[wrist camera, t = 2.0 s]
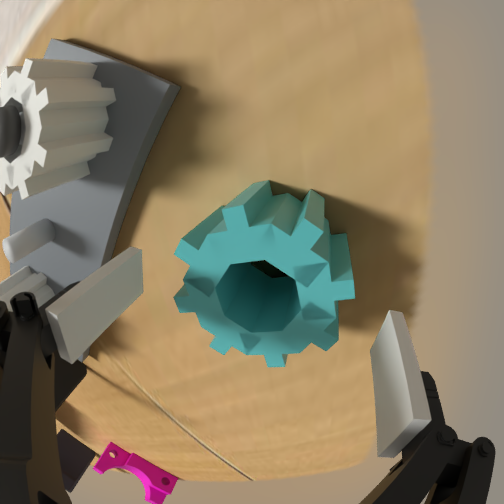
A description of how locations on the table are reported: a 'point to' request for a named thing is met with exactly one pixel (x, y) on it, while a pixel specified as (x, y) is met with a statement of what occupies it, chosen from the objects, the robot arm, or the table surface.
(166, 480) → the magenta mounting bracket
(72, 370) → the phone
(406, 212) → the table surface
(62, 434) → the calculator
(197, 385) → the table surface
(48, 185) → the gear board
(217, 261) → the teal gear
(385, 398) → the robot arm
